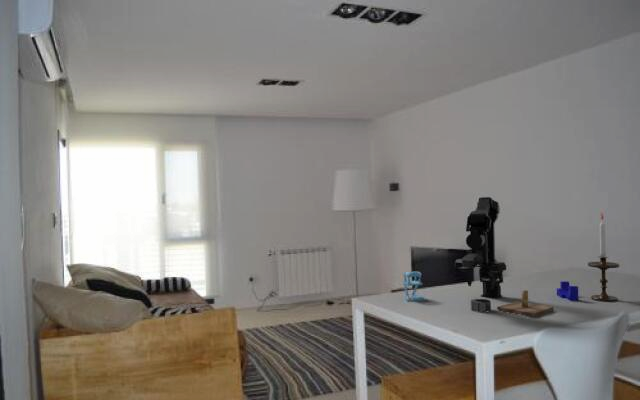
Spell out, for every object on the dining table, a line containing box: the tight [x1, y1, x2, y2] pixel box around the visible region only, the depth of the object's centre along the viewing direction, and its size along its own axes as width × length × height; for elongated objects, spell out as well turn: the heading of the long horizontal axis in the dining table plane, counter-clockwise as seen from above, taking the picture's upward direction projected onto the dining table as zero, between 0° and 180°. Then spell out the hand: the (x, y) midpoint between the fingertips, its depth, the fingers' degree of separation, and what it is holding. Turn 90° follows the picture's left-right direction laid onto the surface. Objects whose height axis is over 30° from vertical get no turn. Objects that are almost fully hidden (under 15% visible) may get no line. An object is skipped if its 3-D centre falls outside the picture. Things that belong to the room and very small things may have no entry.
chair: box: [402, 271, 426, 302], centre depth 203 cm, size 8×8×12 cm
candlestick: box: [587, 212, 620, 303], centre depth 192 cm, size 11×11×35 cm
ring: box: [470, 298, 492, 313], centre depth 180 cm, size 7×7×4 cm
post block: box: [496, 289, 554, 318], centre depth 177 cm, size 14×14×8 cm
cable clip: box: [556, 280, 579, 302], centre depth 197 cm, size 12×4×6 cm, turn 170°
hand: (480, 287), depth 180 cm, fingers open, 9 cm apart
